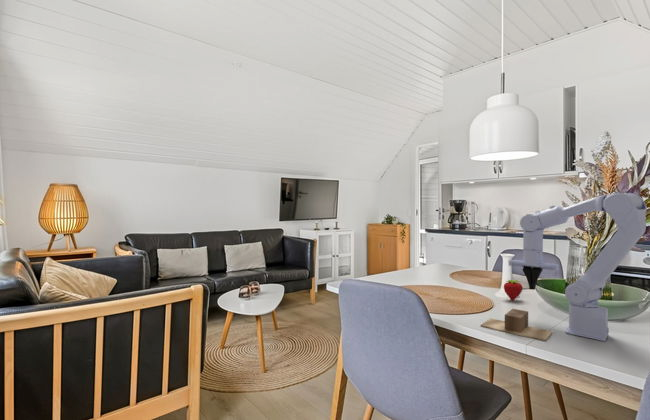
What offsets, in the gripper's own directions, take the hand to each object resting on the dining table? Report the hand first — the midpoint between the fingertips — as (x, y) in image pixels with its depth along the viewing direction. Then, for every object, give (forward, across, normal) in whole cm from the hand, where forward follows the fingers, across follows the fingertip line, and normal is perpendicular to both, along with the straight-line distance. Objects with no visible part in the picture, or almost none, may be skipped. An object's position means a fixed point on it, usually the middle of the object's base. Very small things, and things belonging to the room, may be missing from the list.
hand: (532, 288), depth 116 cm
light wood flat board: (+10, +2, +15) cm, 18 cm away
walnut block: (+8, +2, +9) cm, 12 cm away
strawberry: (+11, +11, -21) cm, 26 cm away
